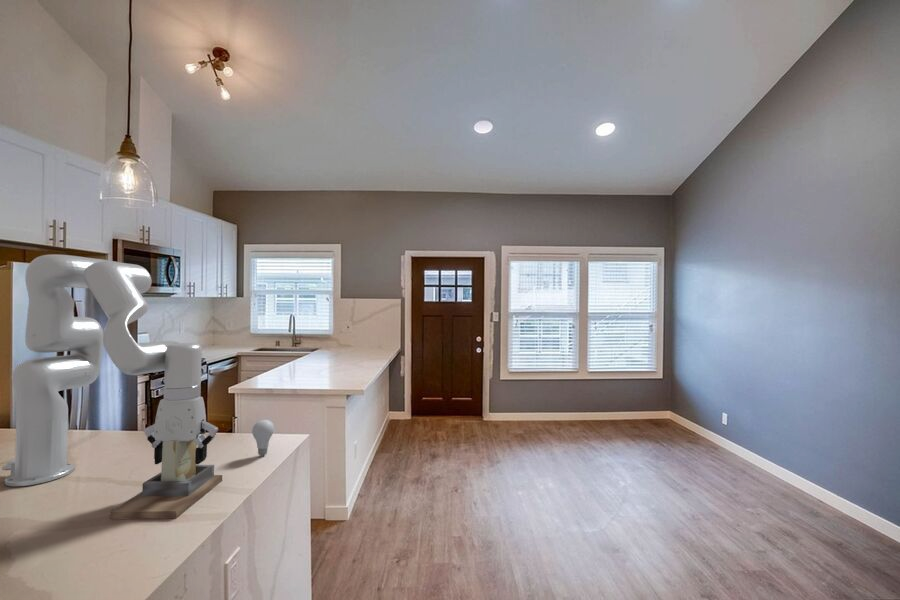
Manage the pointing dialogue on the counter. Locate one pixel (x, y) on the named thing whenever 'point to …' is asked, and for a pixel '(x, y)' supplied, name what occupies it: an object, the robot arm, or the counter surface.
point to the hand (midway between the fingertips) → (180, 462)
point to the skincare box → (178, 460)
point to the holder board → (168, 496)
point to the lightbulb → (263, 435)
